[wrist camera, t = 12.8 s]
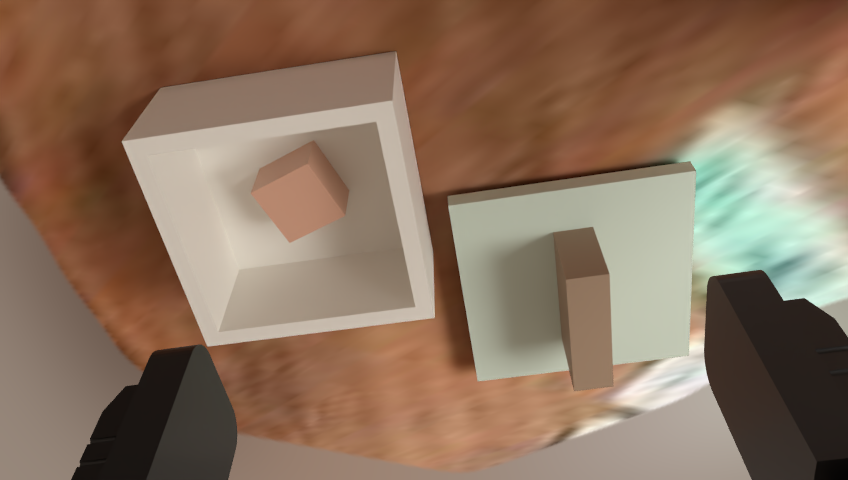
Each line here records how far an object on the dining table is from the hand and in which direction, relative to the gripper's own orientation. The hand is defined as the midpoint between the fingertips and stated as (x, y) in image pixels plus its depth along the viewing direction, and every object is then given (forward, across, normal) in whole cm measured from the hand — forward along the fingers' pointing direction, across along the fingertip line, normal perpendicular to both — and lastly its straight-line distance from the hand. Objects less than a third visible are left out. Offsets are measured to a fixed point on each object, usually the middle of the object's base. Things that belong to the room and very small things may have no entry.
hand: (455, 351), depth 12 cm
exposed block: (+32, +10, +14) cm, 37 cm away
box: (+33, +10, +14) cm, 37 cm away
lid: (+32, -6, +24) cm, 40 cm away
